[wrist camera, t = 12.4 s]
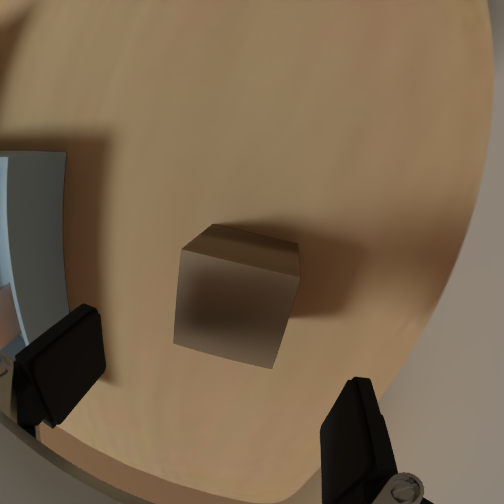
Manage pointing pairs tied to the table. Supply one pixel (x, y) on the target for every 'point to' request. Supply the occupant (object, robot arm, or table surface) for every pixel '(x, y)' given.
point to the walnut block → (236, 294)
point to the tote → (32, 240)
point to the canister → (8, 317)
